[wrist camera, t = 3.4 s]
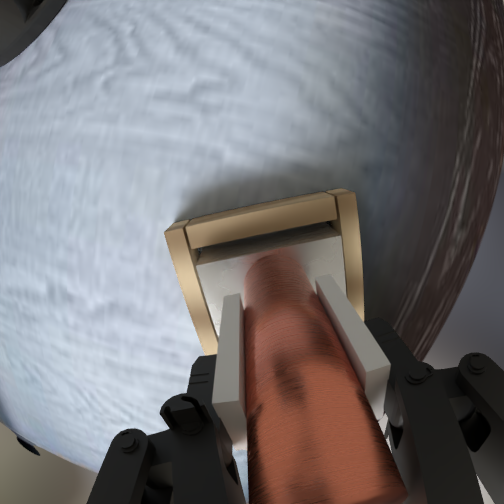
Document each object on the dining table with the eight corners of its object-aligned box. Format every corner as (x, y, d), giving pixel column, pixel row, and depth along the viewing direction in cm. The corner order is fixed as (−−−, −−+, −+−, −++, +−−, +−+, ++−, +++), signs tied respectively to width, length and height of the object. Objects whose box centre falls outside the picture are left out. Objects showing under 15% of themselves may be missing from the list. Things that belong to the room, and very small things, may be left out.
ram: (204, 244, 19) (113, 503, 3) (322, 220, 19) (515, 410, 3) (228, 329, 22) (218, 556, 5) (332, 307, 21) (432, 509, 5)
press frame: (173, 223, 19) (113, 284, 10) (341, 188, 19) (426, 219, 9) (249, 439, 27) (252, 514, 17) (351, 418, 26) (376, 488, 17)
